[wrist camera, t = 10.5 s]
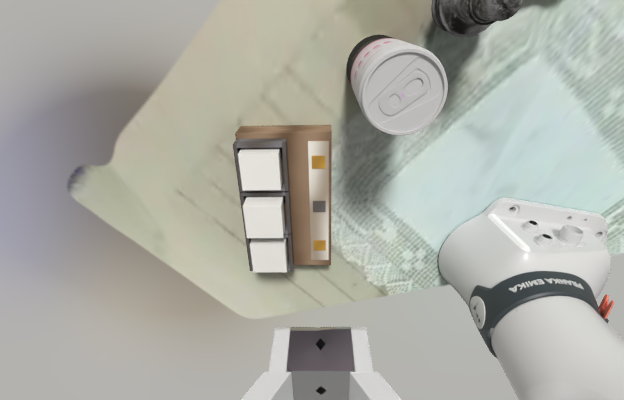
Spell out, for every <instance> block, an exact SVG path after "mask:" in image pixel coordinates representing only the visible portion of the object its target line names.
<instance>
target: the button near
mask: <svg viewBox="0 0 624 400" xmlns="http://www.w3.org/2000/svg"><path fill="white" fill-rule="evenodd" d="M238 159H239V167H240V175H241V182H242V190H243V191H245V190H281V188H282V183H283V172H282V157H281V147H277V148H241V150H240V151H239V153H238Z"/></svg>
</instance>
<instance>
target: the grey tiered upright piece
mask: <svg viewBox="0 0 624 400" xmlns="http://www.w3.org/2000/svg"><path fill="white" fill-rule="evenodd" d="M522 3H523V0H433V1H432V15H433V18H434V21H435V22H436V24H437V25H438V26H439V27H440V28H442V29H443V30H445V31H449V32H450V33H452V34H453V35H456V36H460V37H470V36H473V35H477V34H479V33H480V32H482V31H484V30H485V29H486V28H488V27H489V26H490V25H491V24H492V23H494V22H496V21H502V20H506V19H508V18H510V17H512V16H513V15H514V14H515V13H517V11H518V10H519V9H520V7H521V5H522Z"/></svg>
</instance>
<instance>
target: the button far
mask: <svg viewBox="0 0 624 400" xmlns="http://www.w3.org/2000/svg"><path fill="white" fill-rule="evenodd" d="M250 251H251V258H252V266H253V272H287V268H288V246H287V238H252V239H251V242H250Z"/></svg>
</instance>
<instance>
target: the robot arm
mask: <svg viewBox="0 0 624 400" xmlns="http://www.w3.org/2000/svg"><path fill="white" fill-rule="evenodd" d="M511 207H513V208H512V209H510V208H511ZM509 209H510V210H509ZM607 232H608V231H607V223H606V220H605V218H604V217H603V216H602V215H600V214H598V213H594V212H589V211H583V210H577V209H571V208H565V207H559V206H553V205H548V204H542V203H536V202H530V201H524V200H518V199H512V198H506V197H503V198H499V199H497V200H496V201H494V202H493V203H492V204H491V205H490V206H489V207H488V208H487V209H486V210H485V211H484V212H483V213H481V214H480V215H478V216H476V217H474V218H472V219H470V220H468V221H467V222H465V223H463V224H462V225H460V226H459V227H458V228H456V229H455V230H454V231H453V232H452V233H451V234H450V235H449V236H448V238H447V239H446V240H445V242H444V244H443V245H442V247H441V250H440V253H439V259H438V264H439V269H440V272H441V274H442V276H443V277H444V279H445V280H446V281H447V282H448V283H449V284H450V285H451V286H452V287H454V289H455V290H456V291H457V292H458V293H459V294H460V296H461V297H462V298H463V300H464V301H465V302H466V304H467V305H468V307H469V309H470V312H471V314H472V317H473V319H474V321H475V323H476V326H477V328H478V330H479V332H480V334H481V335H482V338H483V339H484V341H485V343H486V345H487V347H488V348H489V350H490V352H491V353H492V354H493V355H494V356H495V357H496V358H497V359H498V360H499V362H500V363H501V366H502V368H503V370H504V372H505V373H506V375H507V377H508V379H509V381H510V383H511V385H512V387H513V389H514V391H515V393H516V395H517V397H518V399H519V400H624V339H623V338H622V337H620V335H618V334H617V333H616V332H615V331H614V330H613V329H612V328H611V327H610V326H609V324H608V319H607V316H608V314H609V313H610V311H611V309H612V307H613V304H614V301H611V302H610V303H609V305H608V301H609V296H608V295H605V296H604V298H603V300H602V302H601V304H600V306H599V308H598V305H597V302H596V299H597V298H598V296H599V295H600V293H601V291H602V290H603V288H604V286H605V284H606V282H607V279H608V277H609V274H610V270H611V264H612V263H611V262H612V260H611V254H610V252H609V250H608V248H607V247H606V245H605V244H606V240H607ZM241 400H401V399H400V397H399V396H398V395H397V394H396V393H395V391H394V390H393V389H392V388H391V387H390V386H389V384H388V383H387V382H386V381H385V380H384V378H383V377H382V376H381V375H380V374H379V373H378V372H373V366H372V360H371V353H370V347H369V340H368V334H367V329H366V327H320V328H315V327H276V328H275V330H274V336H273V343H272V350H271V357H270V364H269V371H268V372H263V374H262V375H261V376H260V377H259V378H258V380H257V381H256V382H255V383H254V384H253V385H252V387H251V388H250V389H249V390H248V391H247V393H246V394H245V395H244V396H243V397H242V399H241Z"/></svg>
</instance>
